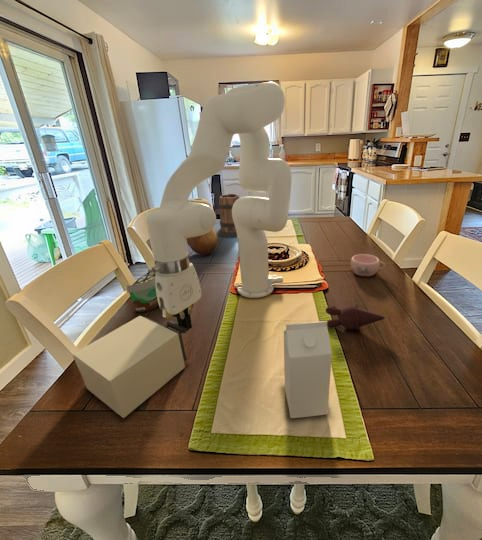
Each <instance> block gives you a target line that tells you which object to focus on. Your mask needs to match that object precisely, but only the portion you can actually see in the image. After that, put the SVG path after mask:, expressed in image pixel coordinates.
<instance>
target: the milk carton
mask: <svg viewBox="0 0 482 540" xmlns="http://www.w3.org/2000/svg"><path fill="white" fill-rule="evenodd" d="M327 321H328V320H321V321H310V322H299V323H298V322H297V323H288V324H286V325H285V328H286V329H284V330H283V363H284V366H283V370H284V391H285V396H286V403H287V408H288V413H289V418H290V419H298V418H306V417H307V418H308V417H317V416H326V415H328V412H329V410H328V409H329V399H330V383H331V371H332V354H333V351H332V345H331V340H330V335H329V330H328V326H327Z"/></svg>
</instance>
